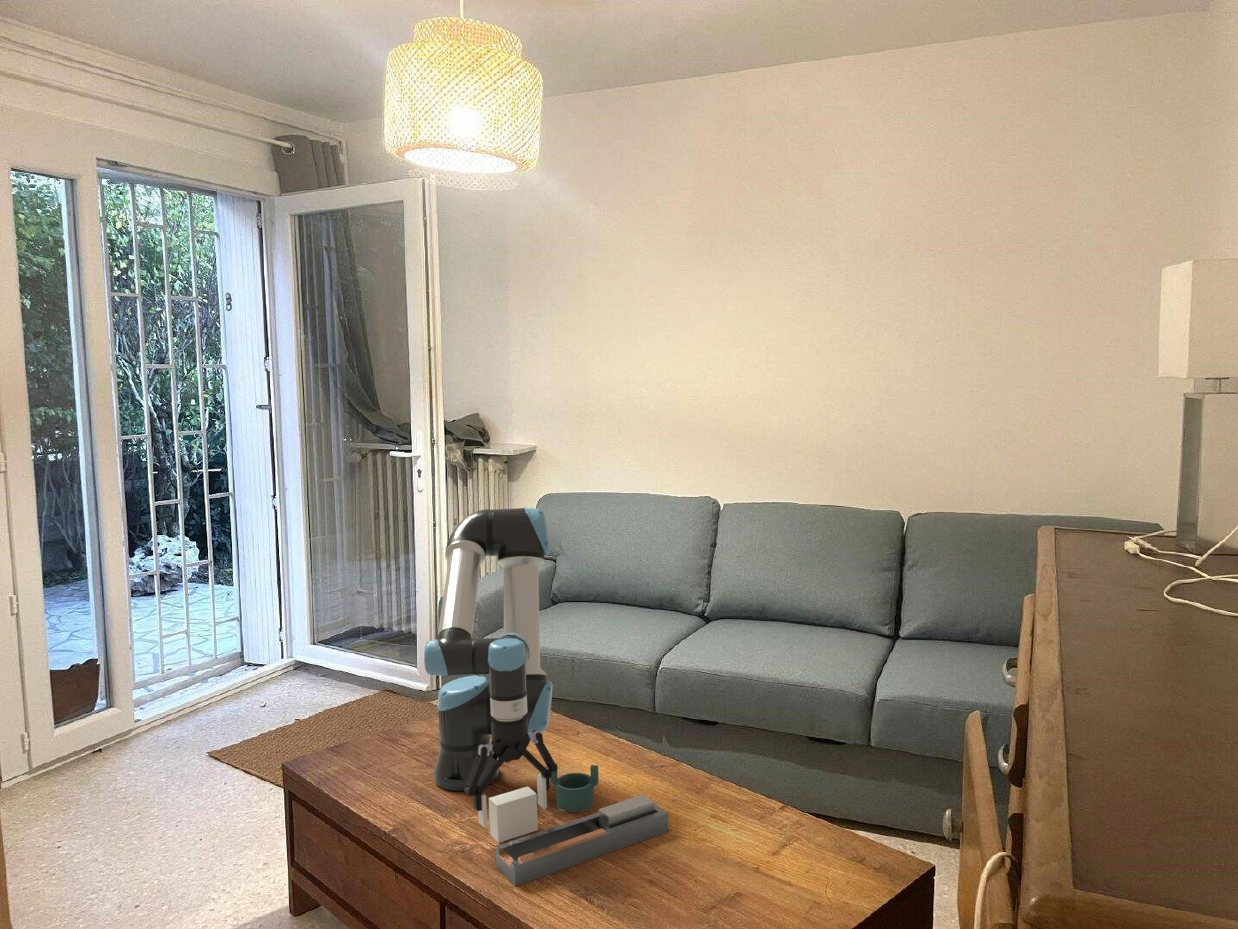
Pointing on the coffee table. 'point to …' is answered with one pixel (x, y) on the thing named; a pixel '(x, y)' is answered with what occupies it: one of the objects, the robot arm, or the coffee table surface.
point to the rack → (581, 839)
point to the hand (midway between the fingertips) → (513, 815)
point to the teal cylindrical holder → (575, 789)
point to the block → (513, 814)
